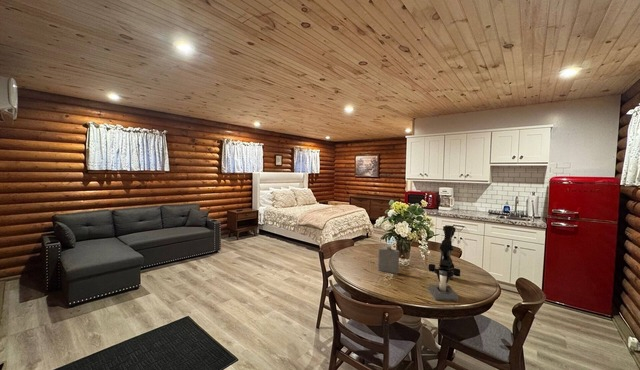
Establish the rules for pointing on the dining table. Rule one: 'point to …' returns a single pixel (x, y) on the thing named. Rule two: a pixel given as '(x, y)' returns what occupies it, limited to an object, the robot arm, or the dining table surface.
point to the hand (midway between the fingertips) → (442, 282)
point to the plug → (443, 281)
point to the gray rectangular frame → (443, 293)
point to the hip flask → (388, 260)
